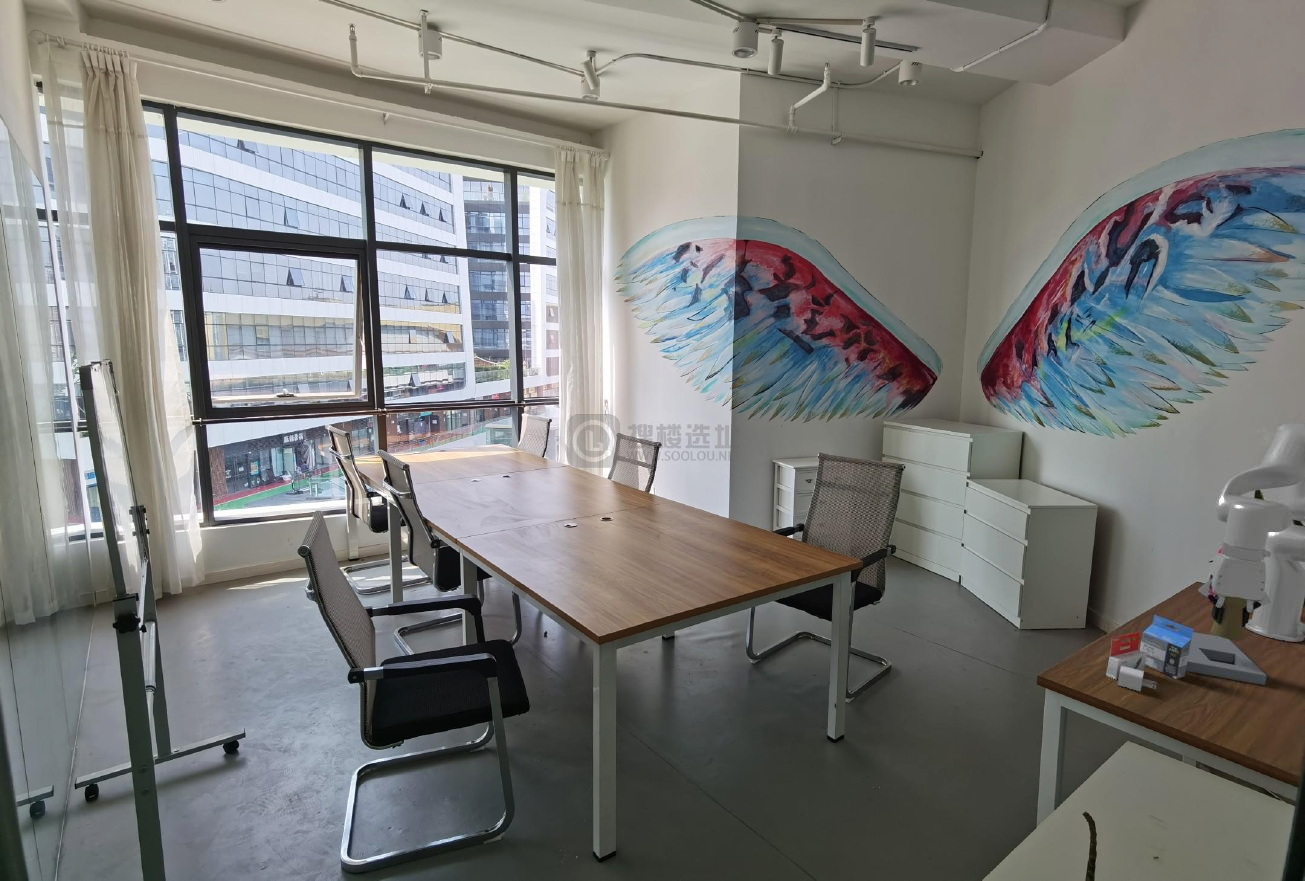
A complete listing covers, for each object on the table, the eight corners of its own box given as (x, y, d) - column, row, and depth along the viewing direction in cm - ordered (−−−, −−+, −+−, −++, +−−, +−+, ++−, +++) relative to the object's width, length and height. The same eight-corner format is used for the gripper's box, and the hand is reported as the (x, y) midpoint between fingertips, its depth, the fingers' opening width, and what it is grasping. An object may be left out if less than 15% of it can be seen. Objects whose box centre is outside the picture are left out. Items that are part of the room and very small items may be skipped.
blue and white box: (1136, 662, 163) (1144, 616, 161) (1145, 660, 165) (1153, 614, 163) (1176, 679, 155) (1184, 631, 153) (1185, 677, 157) (1194, 629, 155)
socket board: (1225, 646, 174) (1226, 637, 174) (1264, 685, 154) (1266, 675, 154) (1153, 634, 180) (1154, 625, 180) (1182, 670, 160) (1184, 660, 160)
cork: (1204, 629, 164) (1211, 588, 162) (1225, 629, 165) (1233, 588, 163) (1227, 640, 158) (1235, 597, 156) (1249, 640, 159) (1257, 598, 157)
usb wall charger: (1118, 679, 154) (1121, 664, 154) (1155, 690, 150) (1157, 674, 149) (1117, 686, 151) (1119, 670, 151) (1154, 697, 147) (1157, 681, 146)
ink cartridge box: (1144, 672, 158) (1150, 635, 157) (1115, 681, 154) (1121, 642, 152) (1133, 668, 161) (1139, 631, 159) (1105, 675, 156) (1110, 637, 155)
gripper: (1278, 554, 158) (1264, 624, 161) (1193, 543, 165) (1181, 611, 167) (1294, 563, 152) (1279, 636, 154) (1205, 551, 158) (1192, 622, 160)
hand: (1228, 622), depth 161 cm, fingers closed on cork, 4 cm apart
